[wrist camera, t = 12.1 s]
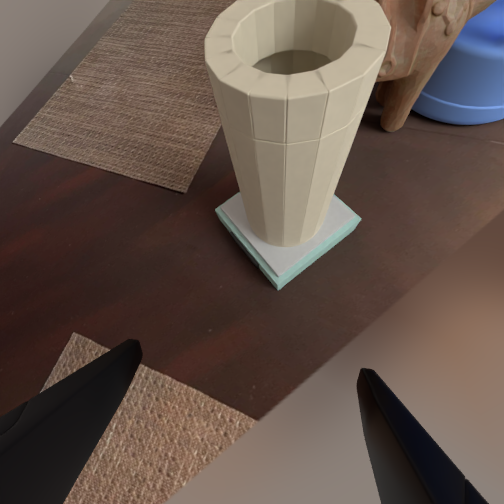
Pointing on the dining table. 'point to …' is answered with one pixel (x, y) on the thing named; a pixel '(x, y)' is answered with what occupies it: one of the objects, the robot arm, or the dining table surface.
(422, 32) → the figurine
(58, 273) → the dining table surface
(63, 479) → the robot arm
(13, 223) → the dining table surface
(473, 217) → the dining table surface
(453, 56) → the water jug
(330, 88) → the jar
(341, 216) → the scale
